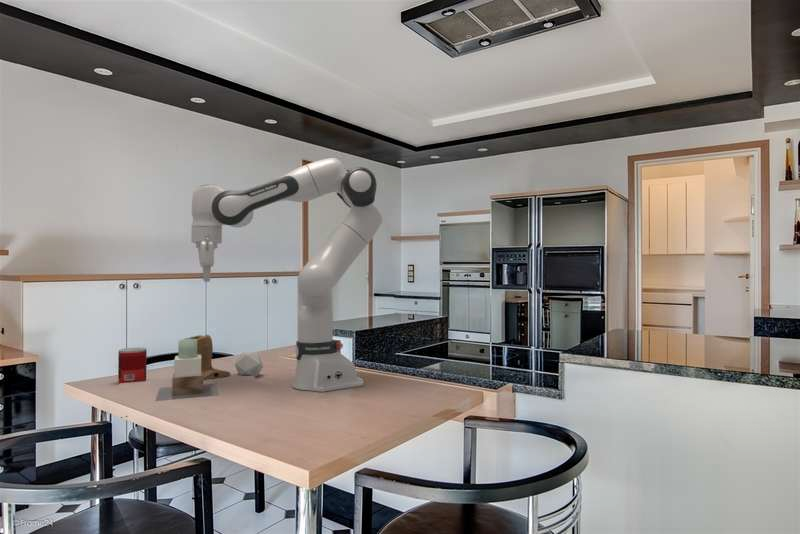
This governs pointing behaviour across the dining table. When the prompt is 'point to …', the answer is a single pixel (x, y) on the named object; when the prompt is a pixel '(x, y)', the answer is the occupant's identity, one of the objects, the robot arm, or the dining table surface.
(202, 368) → the tan boot
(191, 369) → the cream block
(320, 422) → the dining table surface
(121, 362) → the red box
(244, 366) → the die
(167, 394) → the slate coaster
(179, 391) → the walnut block
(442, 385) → the dining table surface
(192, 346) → the sage cylinder
